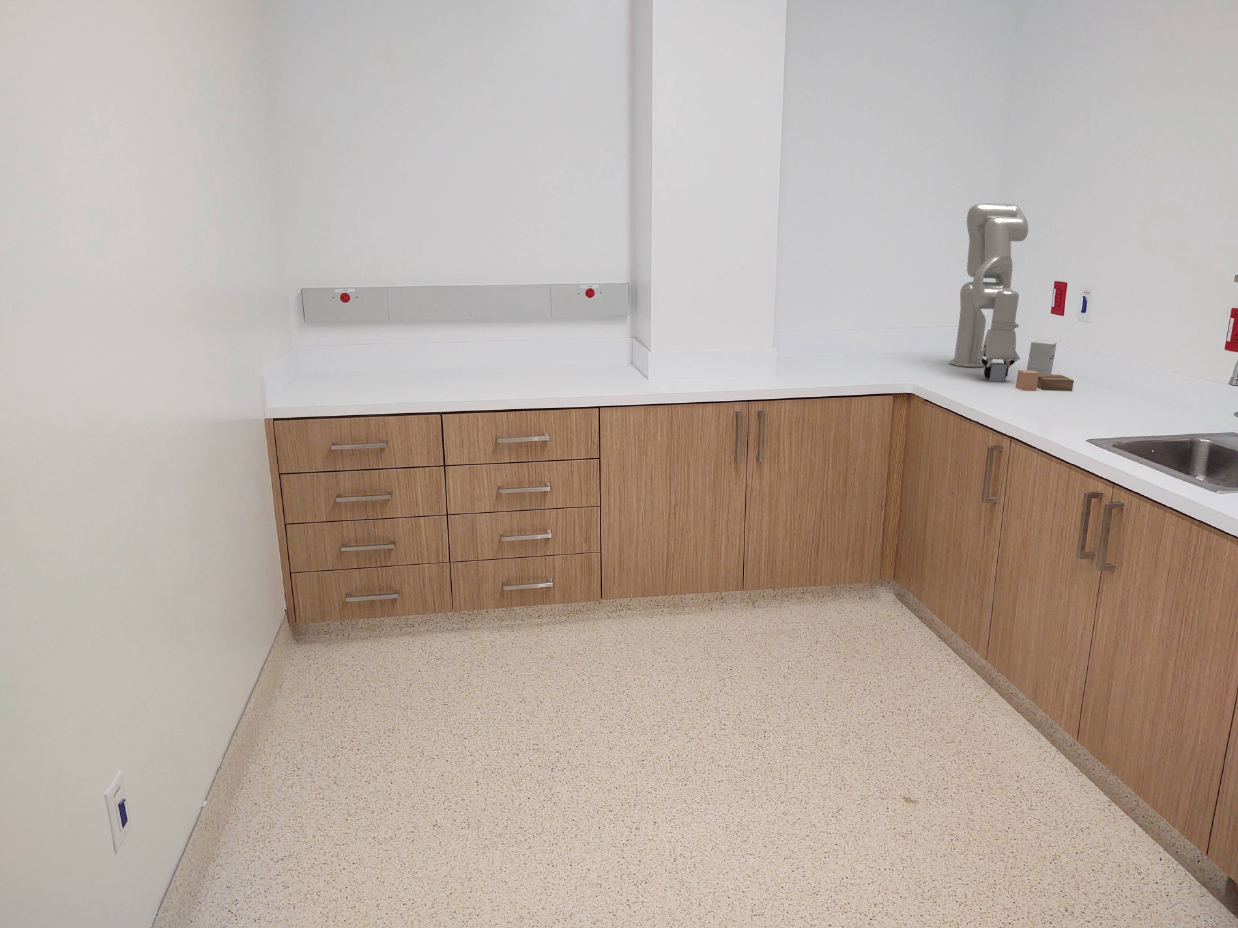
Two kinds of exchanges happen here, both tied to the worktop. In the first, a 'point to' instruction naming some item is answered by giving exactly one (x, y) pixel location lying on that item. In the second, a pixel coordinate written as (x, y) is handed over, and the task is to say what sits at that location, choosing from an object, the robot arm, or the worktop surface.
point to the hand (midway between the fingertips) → (995, 377)
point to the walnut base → (1054, 382)
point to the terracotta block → (1027, 380)
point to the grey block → (997, 372)
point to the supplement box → (1041, 356)
